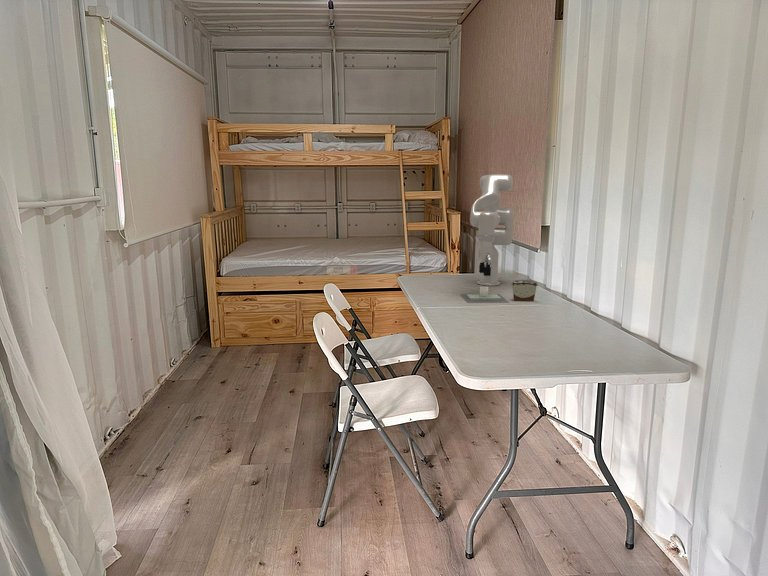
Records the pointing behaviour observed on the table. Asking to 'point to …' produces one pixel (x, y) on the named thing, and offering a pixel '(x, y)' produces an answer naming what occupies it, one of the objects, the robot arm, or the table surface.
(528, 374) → the table surface
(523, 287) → the food container
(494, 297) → the lid
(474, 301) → the mat
